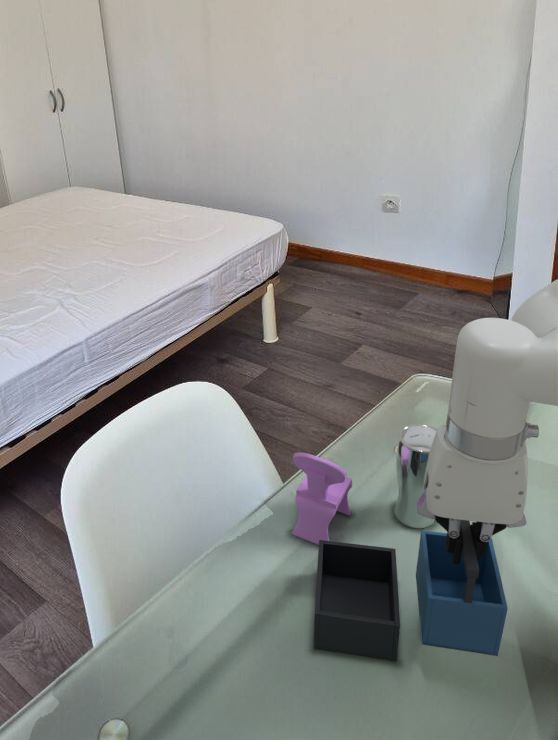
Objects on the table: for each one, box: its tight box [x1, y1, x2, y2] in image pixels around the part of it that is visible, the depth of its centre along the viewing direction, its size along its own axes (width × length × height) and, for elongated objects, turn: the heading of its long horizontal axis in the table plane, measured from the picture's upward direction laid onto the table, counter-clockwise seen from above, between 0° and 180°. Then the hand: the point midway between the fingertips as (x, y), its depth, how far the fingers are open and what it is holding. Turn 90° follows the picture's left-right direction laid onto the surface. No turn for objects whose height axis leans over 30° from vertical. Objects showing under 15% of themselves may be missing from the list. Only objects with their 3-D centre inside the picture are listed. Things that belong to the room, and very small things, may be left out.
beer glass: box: [393, 423, 438, 529], centre depth 104 cm, size 7×7×15 cm
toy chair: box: [291, 451, 353, 546], centre depth 104 cm, size 8×9×15 cm
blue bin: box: [415, 520, 509, 657], centre depth 82 cm, size 8×10×13 cm
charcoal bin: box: [313, 540, 401, 663], centre depth 91 cm, size 10×12×7 cm
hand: (463, 555), depth 81 cm, fingers closed on blue bin, 1 cm apart
